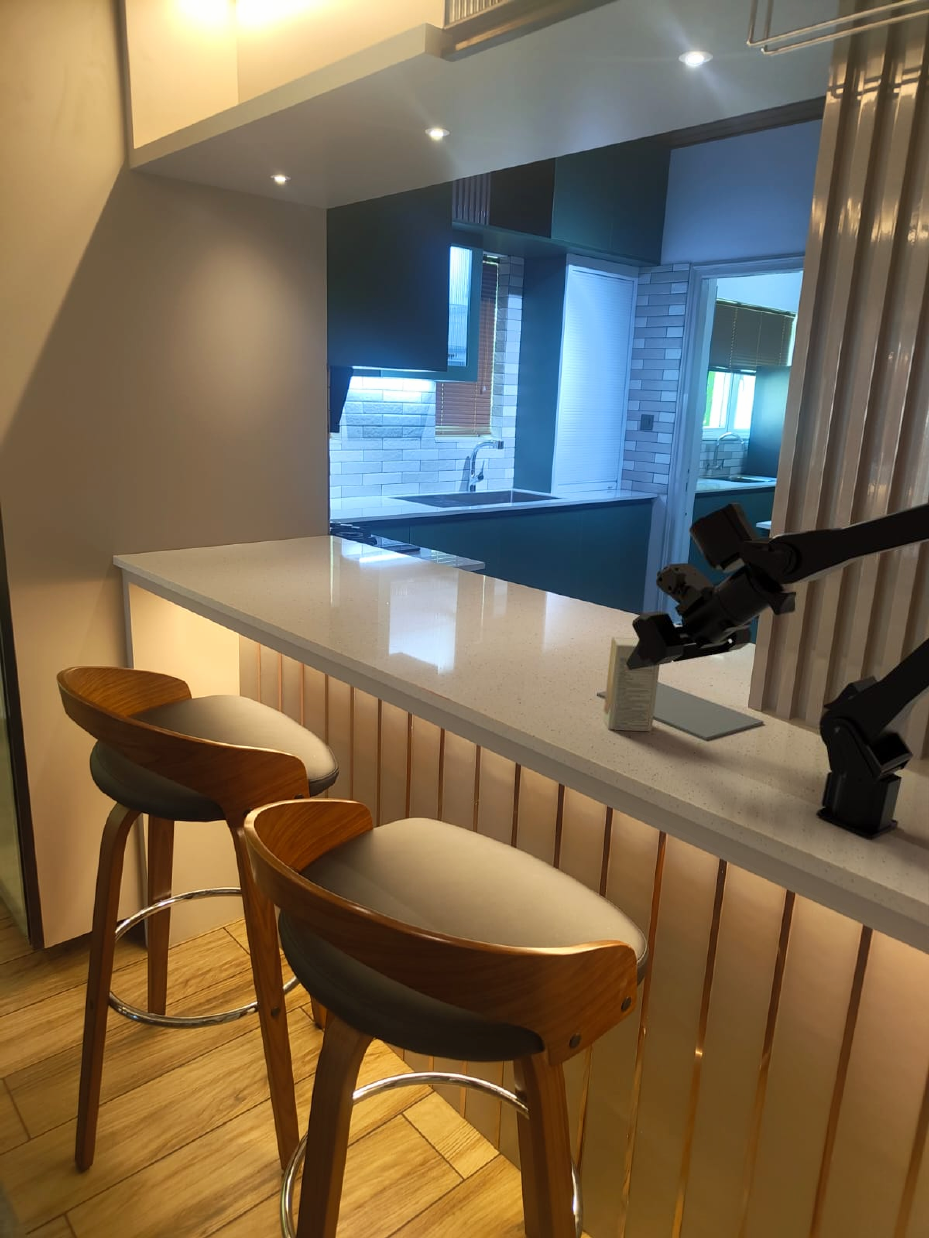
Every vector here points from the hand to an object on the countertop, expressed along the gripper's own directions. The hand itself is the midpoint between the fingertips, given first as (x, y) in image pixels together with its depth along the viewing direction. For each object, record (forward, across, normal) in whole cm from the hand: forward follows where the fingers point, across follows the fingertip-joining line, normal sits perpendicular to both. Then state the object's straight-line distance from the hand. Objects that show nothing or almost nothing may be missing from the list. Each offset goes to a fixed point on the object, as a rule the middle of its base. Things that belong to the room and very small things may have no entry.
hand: (650, 662), depth 117 cm
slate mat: (+10, -13, +4) cm, 17 cm away
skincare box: (+9, 0, +5) cm, 11 cm away
